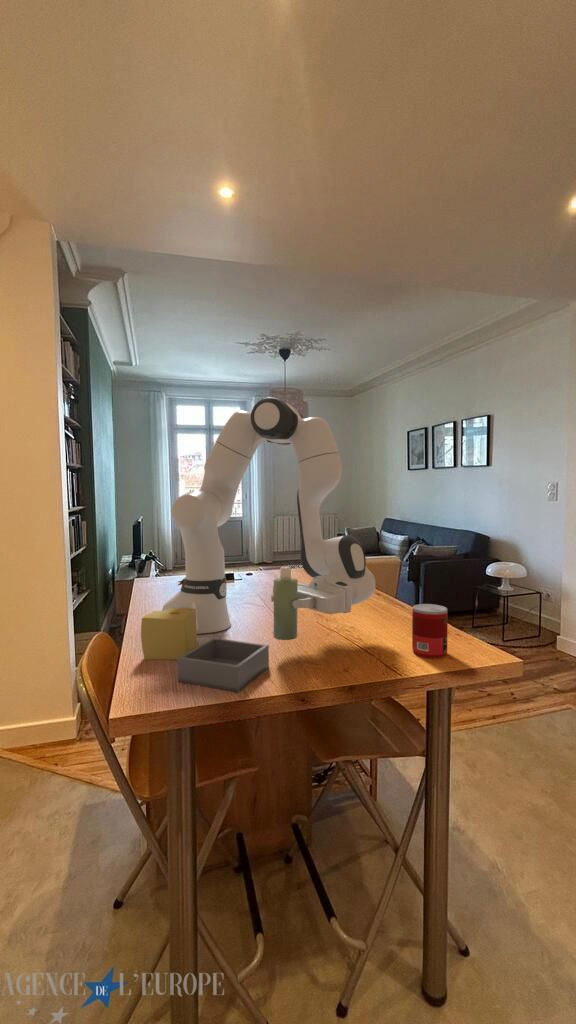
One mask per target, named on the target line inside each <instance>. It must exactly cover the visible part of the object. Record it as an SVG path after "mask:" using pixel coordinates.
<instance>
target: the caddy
mask: <svg viewBox="0 0 576 1024" xmlns="http://www.w3.org/2000/svg"><path fill="white" fill-rule="evenodd" d="M269 647H270V646H269V644H263V643H255V642H248V641H240V640H233V639H224V638H216V637H212V639H209V640H207V641H206V642H203V643H202V644H200V645H198V646H196V647H195V648H194V649H193V650H191V651H189V652H188V653H186V654H184V655H182V656H180V657H179V658H178V660H177V681H178V683H183V684H187V683H188V684H187V685H193V684H195V685H194V686H198V685H200V686H199V687H204V686H205V687H204V688H210V689H216V690H221V691H222V690H223V691H228V692H234V693H240V692H242V691H243V689H245V688H246V687H247V686H248V685H249V684H251V683H252V682H253V681H254V680H256V679H257V678H258V677H259V676H260V675H262V674H263V673H264V672H265V671H266V670H267V669H269V668H270V662H269V660H270V658H269V657H270V655H269V654H270V650H269V649H270V648H269Z"/></svg>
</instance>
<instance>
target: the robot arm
mask: <svg viewBox="0 0 576 1024" xmlns="http://www.w3.org/2000/svg"><path fill="white" fill-rule="evenodd" d="M328 423H329V422H328V421H326V420H325V419H324V418H322V417H320V416H319V417H318V416H311V417H306V418H303V416H302V414H301V412H300V411H298V410H297V409H296V408H295V407H294V406H293V405H292V404H290V403H289V402H285V401H284V400H283V399H280V398H277V397H265V398H262V399H260V400H259V401H257V402H256V403H255V404H254V406H253V407H252V410H251V412H250V411H249V410H248V411H247V410H238V411H235V412H234V413H232V414H231V416H230V418H228V420H227V422H226V423H225V424H224V426H223V427H222V429H221V431H220V432H219V434H218V437H217V438H216V440H215V442H214V444H213V446H212V448H211V449H210V450H211V451H210V452H209V454H208V457H207V459H206V461H205V463H204V466H203V469H204V474H203V478H202V483H201V486H200V489H199V490H196V491H194V490H193V491H192V490H191V491H189V492H186V493H184V494H182V495H180V496H178V498H177V499H176V500H175V501H174V503H173V504H172V507H171V508H172V509H171V517H172V518H173V521H174V523H175V524H176V525H177V527H178V529H179V532H180V535H181V540H182V544H183V548H184V559H185V560H184V562H185V565H184V567H185V577H184V578H183V579H181V580H179V581H177V583H178V584H177V586H181V587H180V591H178V592H177V593H176V594H175V595H174V596H172V598H170V599H169V600H167V601H166V602H165V603H164V604H163V605H162V609H161V611H165V610H168V609H171V608H190V609H196V629H197V635H199V634H210V633H218V632H221V631H224V630H227V629H229V628H230V627H231V626H232V621H231V619H230V615H229V611H228V605H227V598H226V597H227V593H228V592H227V577H226V572H225V569H226V568H225V567H226V566H225V563H226V562H225V549H224V547H223V545H222V543H221V540H220V536H219V531H218V528H219V527H221V526H223V525H224V524H225V523H227V521H229V519H230V518H231V517H232V514H233V511H234V510H233V508H234V507H233V506H234V503H235V500H236V496H237V493H238V489H239V487H240V484H241V482H242V480H243V477H244V476H245V474H246V472H247V469H248V467H249V465H250V464H251V461H252V459H253V457H254V455H255V453H256V451H257V449H258V447H259V446H260V445H261V444H262V443H263V442H267V443H271V444H277V445H285V446H287V445H291V446H292V447H293V449H294V451H295V454H296V456H295V457H296V460H297V465H298V468H299V486H298V489H297V493H296V503H297V504H296V505H297V512H298V513H297V514H298V515H297V516H298V522H299V524H298V525H299V532H300V543H301V548H300V564H301V567H302V568H303V570H304V571H305V573H307V575H309V576H310V577H311V581H310V583H309V584H307V583H302V582H299V581H298V599H294V600H291V607H292V608H295V609H297V610H298V609H309V610H312V611H316V612H319V613H322V614H325V615H326V614H327V615H335V614H348V613H351V612H352V606H354V605H358V604H360V603H363V602H364V601H367V600H369V599H370V598H371V596H373V594H374V592H375V590H376V578H375V575H373V573H372V572H371V571H370V570H369V569H368V567H367V561H366V558H367V557H366V553H365V549H364V547H363V545H362V544H361V542H360V541H359V540H358V539H357V538H356V537H354V536H353V535H350V534H345V535H340V536H336V537H332V538H328V539H324V537H323V533H322V526H321V523H322V522H321V517H320V509H321V506H322V503H323V501H324V500H325V498H326V497H327V496H328V495H330V493H331V492H332V491H333V490H335V488H336V487H337V486H338V485H339V483H340V481H341V480H342V479H341V478H342V476H343V465H342V460H341V457H340V453H339V450H338V445H337V442H336V440H335V437H334V434H333V431H332V430H331V427H330V425H329V424H328ZM270 600H271V602H272V603H274V584H273V586H272V594H271V596H270Z"/></svg>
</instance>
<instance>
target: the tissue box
mask: <svg viewBox="0 0 576 1024" xmlns="http://www.w3.org/2000/svg"><path fill="white" fill-rule="evenodd" d="M140 623H141V625H140V626H141V627H140V639H141V648H142V654H143V659H144V660H167V661H168V660H169V661H170V660H172V661H173V660H176V661H178V658H179V657H180V656H182V655H184V654H186V653H188V652H189V651H191V650H193V649H195V648H197V639H198V638H197V635H198V634H197V629H196V609H190V608H171V609H168V610H165V611H162V610H155V611H152V612H150V613H147V614H145V615H144V616H143V617H141V622H140Z"/></svg>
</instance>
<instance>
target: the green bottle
mask: <svg viewBox="0 0 576 1024" xmlns="http://www.w3.org/2000/svg"><path fill="white" fill-rule="evenodd" d="M279 571H280V577H279V578H275V579H273V585H274V602H273V635H272V636H273V638H274V639H275V640H280V641H292V640H295V639H297V638H298V609H295V608H292V607H291V600H294V599H298V582H299V580H298V579H296V578H292V573H291V572H292V567H291V566H281V567H280V570H279Z"/></svg>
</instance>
